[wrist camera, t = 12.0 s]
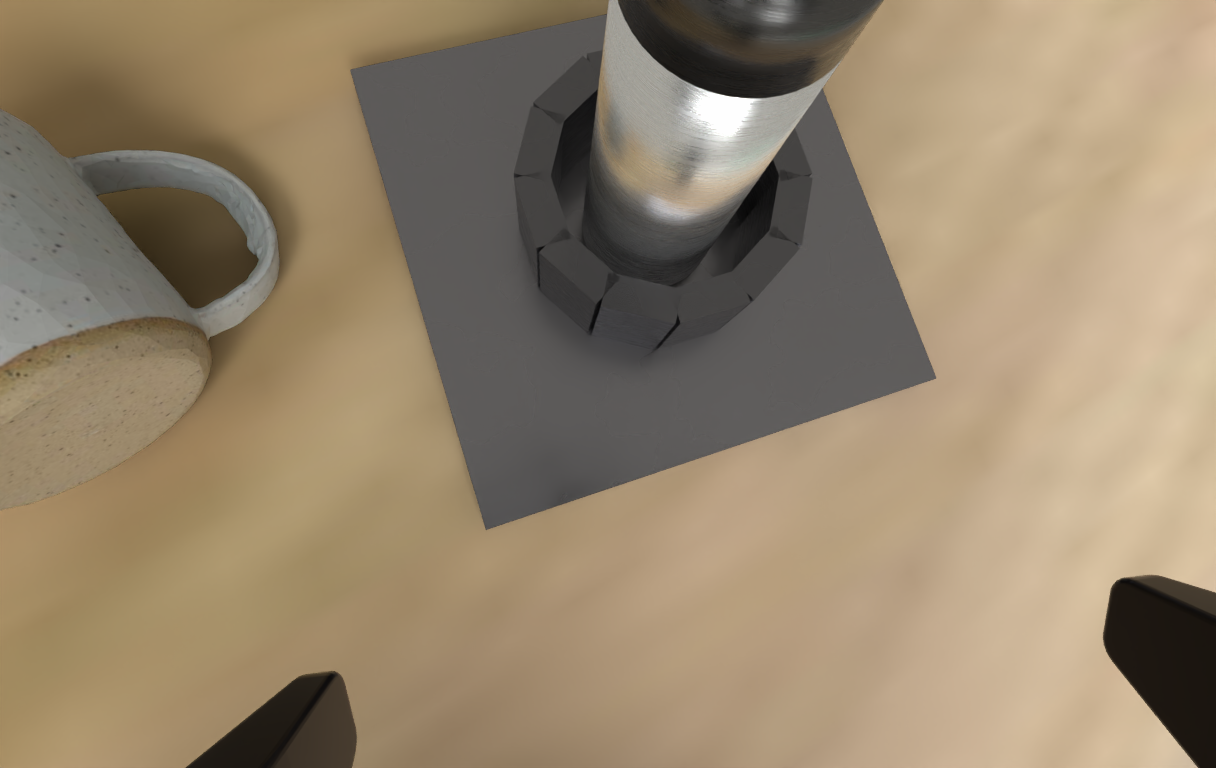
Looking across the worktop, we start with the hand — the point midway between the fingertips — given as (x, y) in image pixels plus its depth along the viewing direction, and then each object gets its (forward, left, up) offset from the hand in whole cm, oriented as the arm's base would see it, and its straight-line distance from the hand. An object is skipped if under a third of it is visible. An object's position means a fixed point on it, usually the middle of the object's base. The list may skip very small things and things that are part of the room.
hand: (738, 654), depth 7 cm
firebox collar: (+4, +10, -13) cm, 17 cm away
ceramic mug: (-13, +12, -13) cm, 22 cm away
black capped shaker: (+4, +10, -12) cm, 16 cm away
